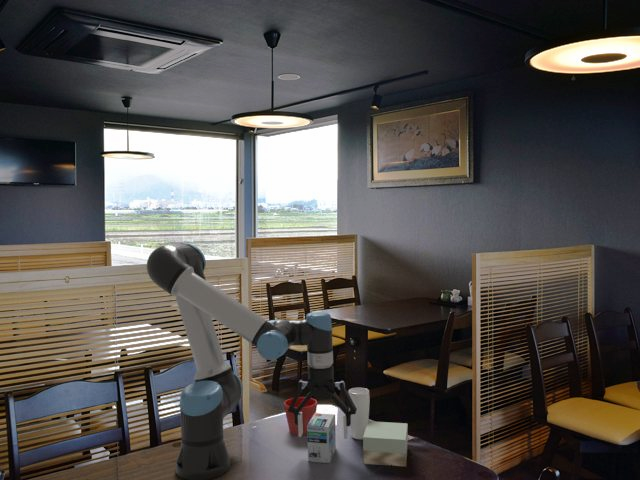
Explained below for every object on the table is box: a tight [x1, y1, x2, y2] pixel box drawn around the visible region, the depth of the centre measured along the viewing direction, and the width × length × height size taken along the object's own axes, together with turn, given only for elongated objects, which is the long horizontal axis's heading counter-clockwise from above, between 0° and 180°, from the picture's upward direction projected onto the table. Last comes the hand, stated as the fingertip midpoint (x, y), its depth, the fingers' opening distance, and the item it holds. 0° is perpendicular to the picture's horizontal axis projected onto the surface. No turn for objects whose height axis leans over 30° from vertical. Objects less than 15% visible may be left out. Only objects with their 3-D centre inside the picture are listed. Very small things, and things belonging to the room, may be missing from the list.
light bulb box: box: [306, 412, 337, 464], centre depth 163 cm, size 11×7×11 cm, turn 168°
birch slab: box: [363, 446, 408, 467], centre depth 162 cm, size 12×12×4 cm
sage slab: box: [362, 420, 409, 454], centre depth 162 cm, size 12×12×4 cm
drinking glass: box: [347, 387, 371, 440], centre depth 175 cm, size 7×7×15 cm
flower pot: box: [283, 396, 318, 436], centre depth 181 cm, size 11×11×10 cm
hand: (323, 436), depth 163 cm, fingers open, 13 cm apart
